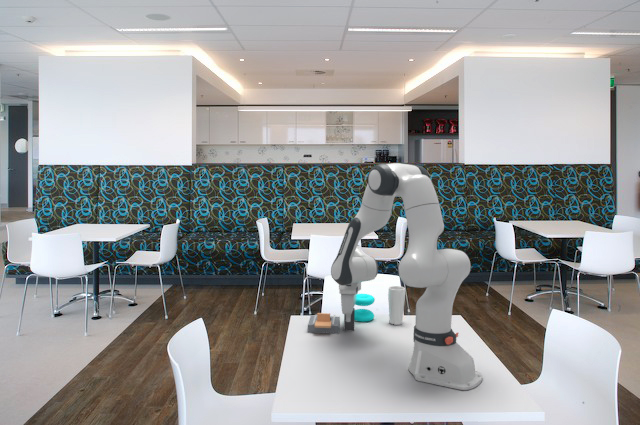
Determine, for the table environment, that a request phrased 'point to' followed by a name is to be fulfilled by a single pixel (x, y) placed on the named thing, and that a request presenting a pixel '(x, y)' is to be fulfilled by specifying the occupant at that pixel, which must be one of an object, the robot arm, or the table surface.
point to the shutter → (323, 320)
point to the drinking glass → (396, 304)
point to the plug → (349, 325)
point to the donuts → (363, 314)
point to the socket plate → (333, 328)
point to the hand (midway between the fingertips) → (349, 318)
